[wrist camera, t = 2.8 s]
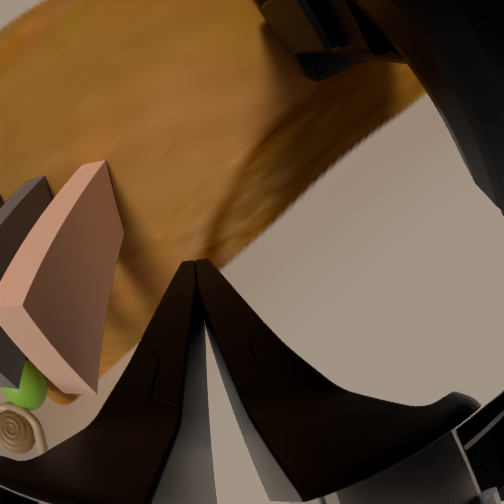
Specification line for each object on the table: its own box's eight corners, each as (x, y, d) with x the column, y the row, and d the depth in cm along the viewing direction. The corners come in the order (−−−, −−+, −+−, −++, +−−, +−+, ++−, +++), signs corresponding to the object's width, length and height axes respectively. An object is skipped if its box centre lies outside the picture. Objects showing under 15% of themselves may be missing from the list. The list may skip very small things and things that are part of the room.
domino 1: (44, 175, 11) (-54, 311, 4) (68, 242, 14) (18, 389, 7) (26, 181, 11) (-70, 312, 4) (50, 246, 14) (-3, 386, 6)
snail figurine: (60, 382, 23) (55, 481, 13) (12, 366, 20) (-1, 462, 11) (56, 359, 20) (46, 477, 11) (2, 341, 17) (-20, 451, 8)
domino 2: (105, 159, 12) (22, 305, 4) (124, 233, 14) (97, 394, 7) (81, 165, 12) (-13, 308, 4) (102, 236, 14) (64, 393, 7)
